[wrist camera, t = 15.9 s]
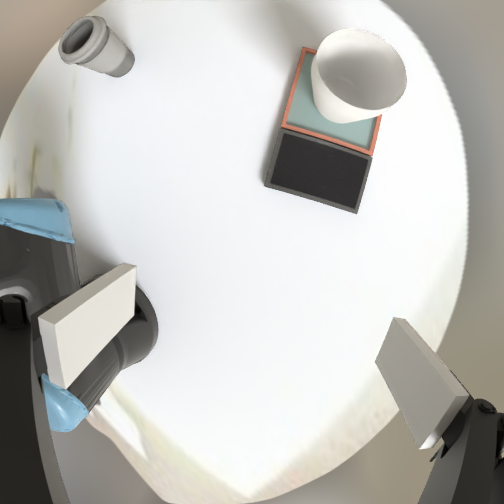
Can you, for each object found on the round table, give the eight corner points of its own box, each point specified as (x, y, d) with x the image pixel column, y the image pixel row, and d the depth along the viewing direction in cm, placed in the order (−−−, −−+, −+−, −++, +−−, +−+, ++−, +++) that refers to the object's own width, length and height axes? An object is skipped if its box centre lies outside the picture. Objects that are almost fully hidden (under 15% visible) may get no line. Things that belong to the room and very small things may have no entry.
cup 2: (326, 57, 31) (343, 12, 19) (383, 96, 32) (422, 67, 20) (290, 106, 33) (294, 72, 22) (349, 146, 34) (381, 132, 22)
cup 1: (130, 37, 32) (89, 4, 21) (149, 60, 33) (108, 27, 22) (96, 68, 34) (49, 44, 22) (113, 92, 35) (64, 71, 23)
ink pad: (264, 186, 36) (264, 186, 35) (280, 129, 35) (280, 127, 33) (354, 213, 36) (358, 214, 34) (369, 158, 34) (373, 157, 32)
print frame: (280, 128, 34) (280, 126, 34) (302, 49, 32) (302, 46, 31) (370, 156, 34) (372, 155, 33) (387, 78, 31) (389, 75, 30)
